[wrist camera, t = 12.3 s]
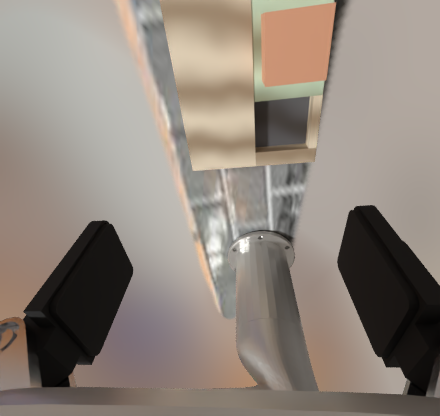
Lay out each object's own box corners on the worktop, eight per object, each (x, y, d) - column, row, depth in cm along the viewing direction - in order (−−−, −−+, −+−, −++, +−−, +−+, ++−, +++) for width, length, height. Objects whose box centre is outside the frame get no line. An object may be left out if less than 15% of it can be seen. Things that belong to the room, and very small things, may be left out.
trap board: (311, 155, 35) (314, 161, 34) (194, 164, 37) (192, 170, 36) (346, -159, 20) (356, -176, 18) (142, -117, 21) (134, -129, 20)
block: (315, 74, 28) (326, 80, 24) (261, 80, 28) (265, 87, 25) (322, 5, 24) (336, 2, 21) (260, 14, 25) (264, 12, 22)
